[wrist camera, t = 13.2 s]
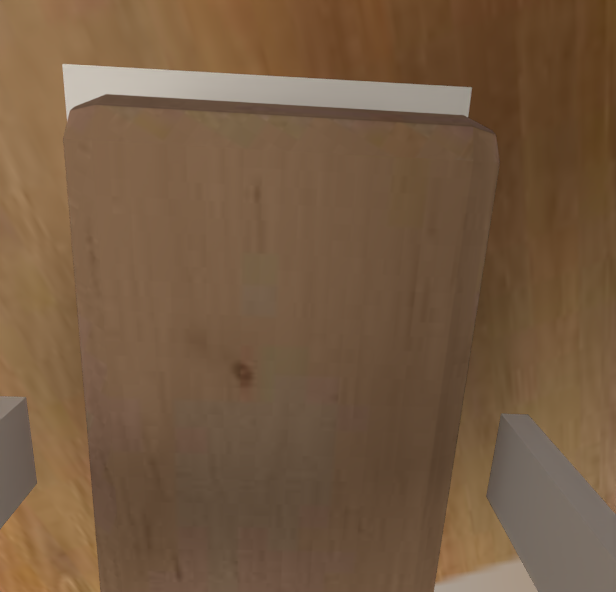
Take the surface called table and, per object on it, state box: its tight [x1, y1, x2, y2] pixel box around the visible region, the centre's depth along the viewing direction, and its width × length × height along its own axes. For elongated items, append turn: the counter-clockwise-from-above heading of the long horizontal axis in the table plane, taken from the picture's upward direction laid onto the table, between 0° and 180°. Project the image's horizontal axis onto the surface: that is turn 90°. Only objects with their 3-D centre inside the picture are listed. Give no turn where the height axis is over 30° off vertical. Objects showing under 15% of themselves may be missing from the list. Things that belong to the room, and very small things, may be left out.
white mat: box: [62, 64, 472, 121], centre depth 22 cm, size 16×22×1 cm
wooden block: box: [63, 94, 500, 592], centre depth 17 cm, size 10×10×20 cm
